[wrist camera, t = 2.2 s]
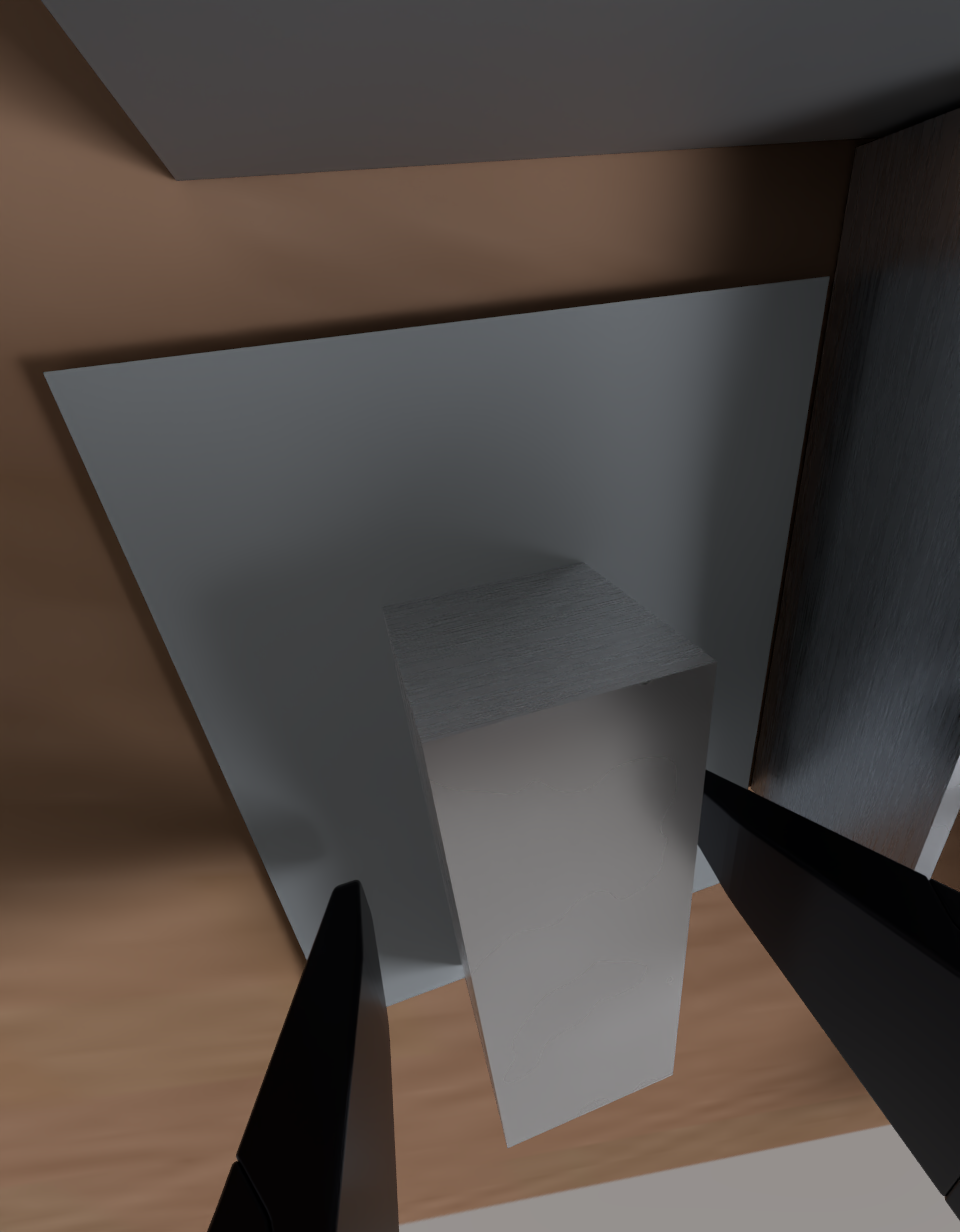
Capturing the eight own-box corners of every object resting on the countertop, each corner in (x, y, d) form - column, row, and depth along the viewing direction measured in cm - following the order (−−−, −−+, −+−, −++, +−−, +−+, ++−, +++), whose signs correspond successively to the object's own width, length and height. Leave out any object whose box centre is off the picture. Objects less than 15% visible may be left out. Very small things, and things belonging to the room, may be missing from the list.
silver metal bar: (583, 561, 8) (717, 662, 6) (592, 917, 13) (672, 1075, 10) (381, 607, 8) (422, 743, 5) (461, 964, 12) (507, 1148, 9)
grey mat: (806, 279, 8) (829, 275, 8) (723, 864, 14) (733, 877, 14) (58, 371, 6) (42, 372, 6) (335, 1006, 12) (336, 1025, 12)
